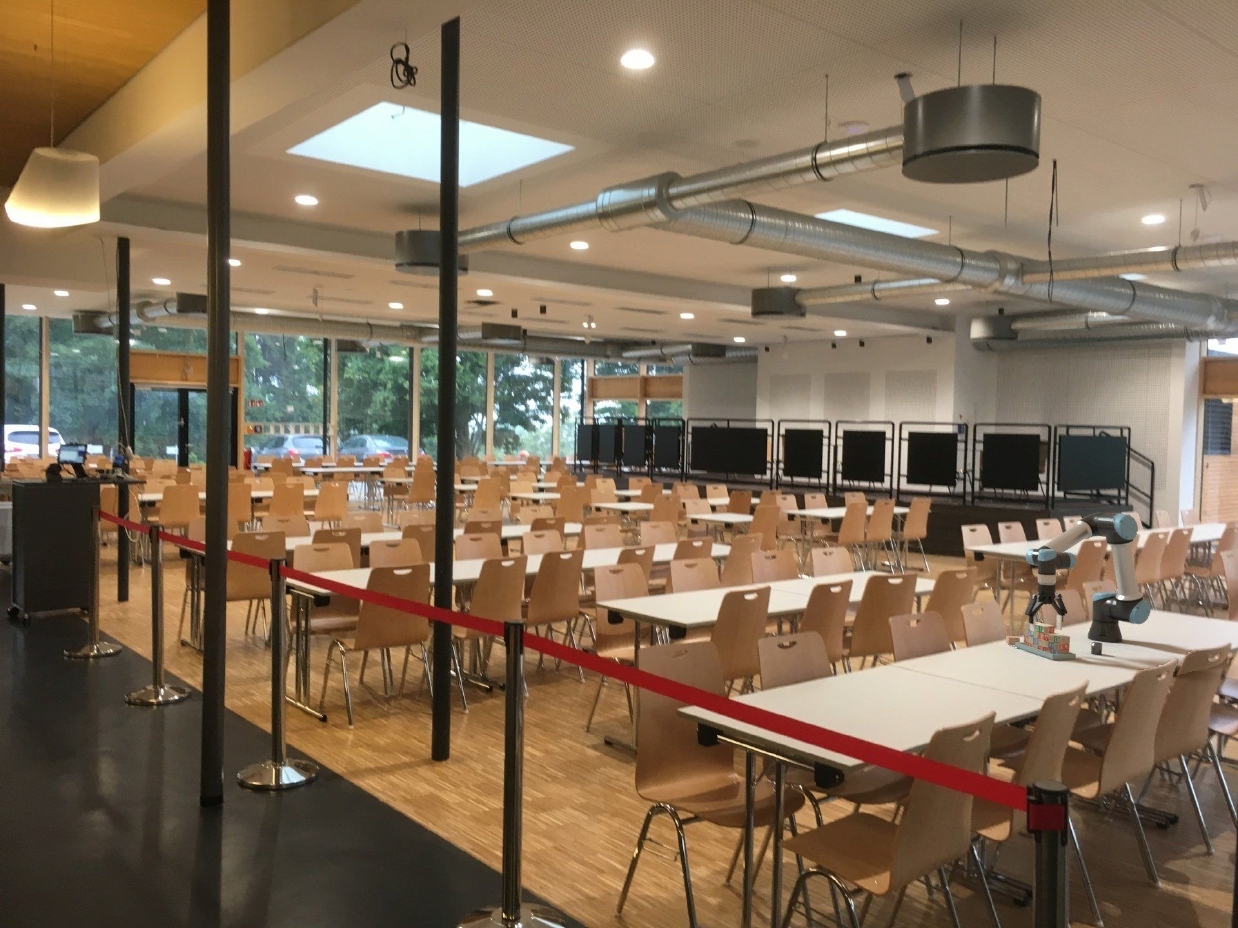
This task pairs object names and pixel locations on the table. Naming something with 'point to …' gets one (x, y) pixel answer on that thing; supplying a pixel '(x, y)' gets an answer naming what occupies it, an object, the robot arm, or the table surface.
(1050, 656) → the tray
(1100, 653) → the metal cylinder
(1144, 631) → the table surface
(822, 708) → the table surface
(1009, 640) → the terracotta block
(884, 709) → the table surface
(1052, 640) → the stack of blocks
